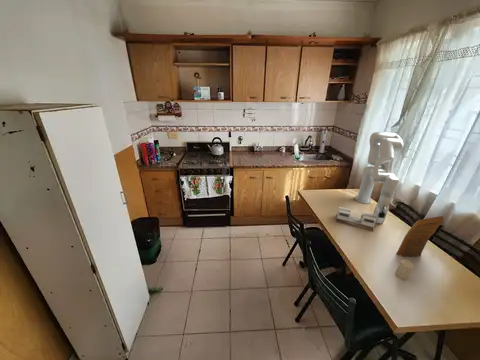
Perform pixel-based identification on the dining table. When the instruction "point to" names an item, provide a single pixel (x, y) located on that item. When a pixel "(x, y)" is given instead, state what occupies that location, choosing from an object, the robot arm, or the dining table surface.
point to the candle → (404, 269)
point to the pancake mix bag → (418, 237)
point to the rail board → (356, 219)
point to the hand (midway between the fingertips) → (380, 214)
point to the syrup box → (377, 212)
